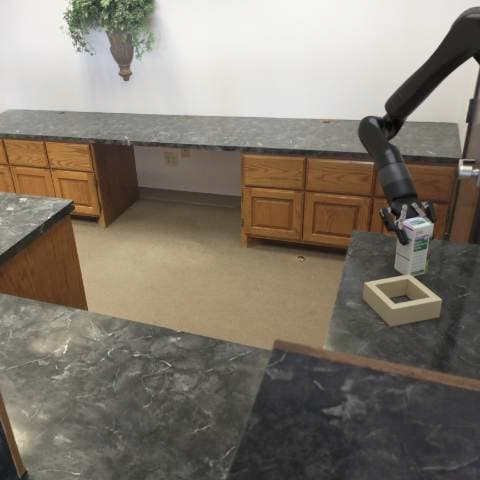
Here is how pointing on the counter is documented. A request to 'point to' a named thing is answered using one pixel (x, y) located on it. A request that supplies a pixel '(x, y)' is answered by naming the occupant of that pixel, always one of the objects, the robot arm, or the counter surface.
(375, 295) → the frame
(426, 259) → the syrup box
